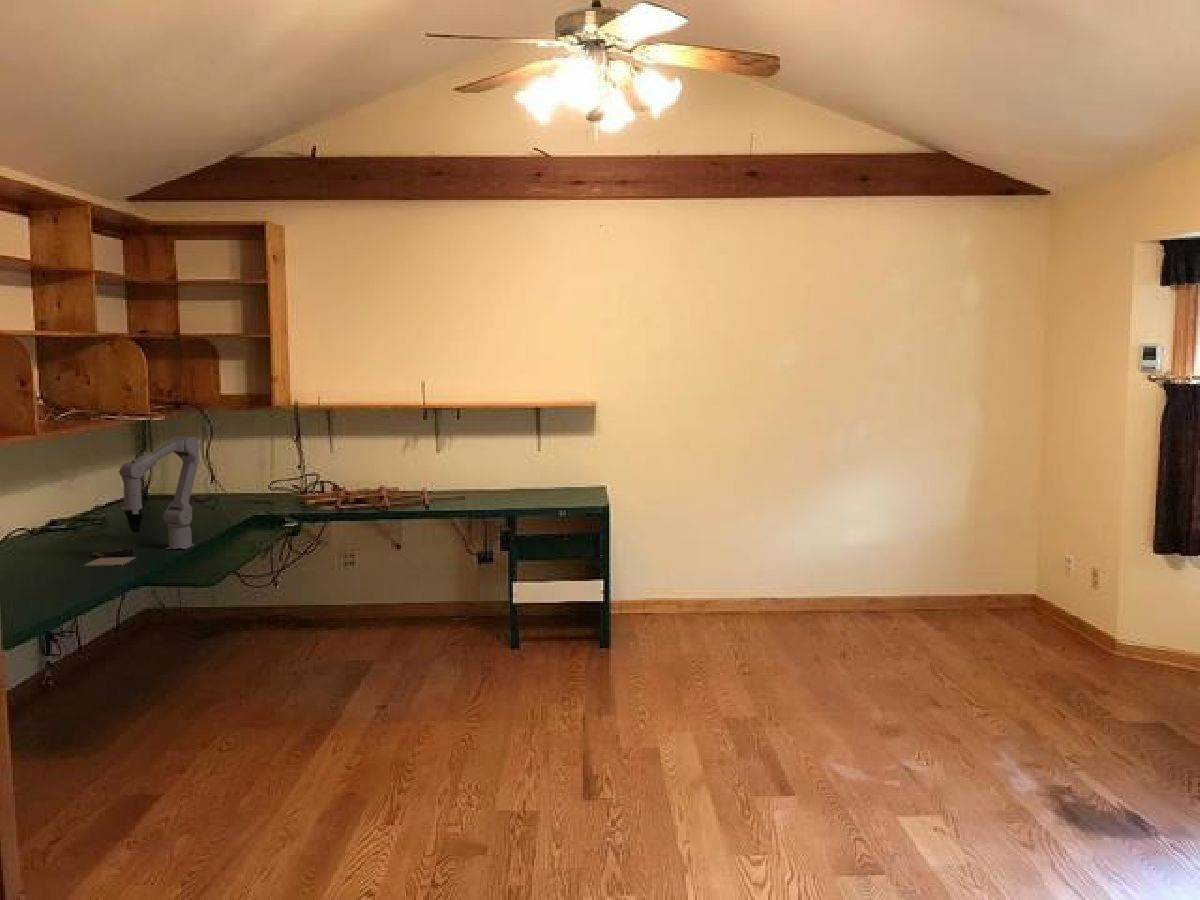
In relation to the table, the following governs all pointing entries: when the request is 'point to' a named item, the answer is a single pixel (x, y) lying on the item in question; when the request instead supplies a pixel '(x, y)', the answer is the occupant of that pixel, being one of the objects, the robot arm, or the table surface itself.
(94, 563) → the mat
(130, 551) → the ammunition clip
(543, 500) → the table surface
